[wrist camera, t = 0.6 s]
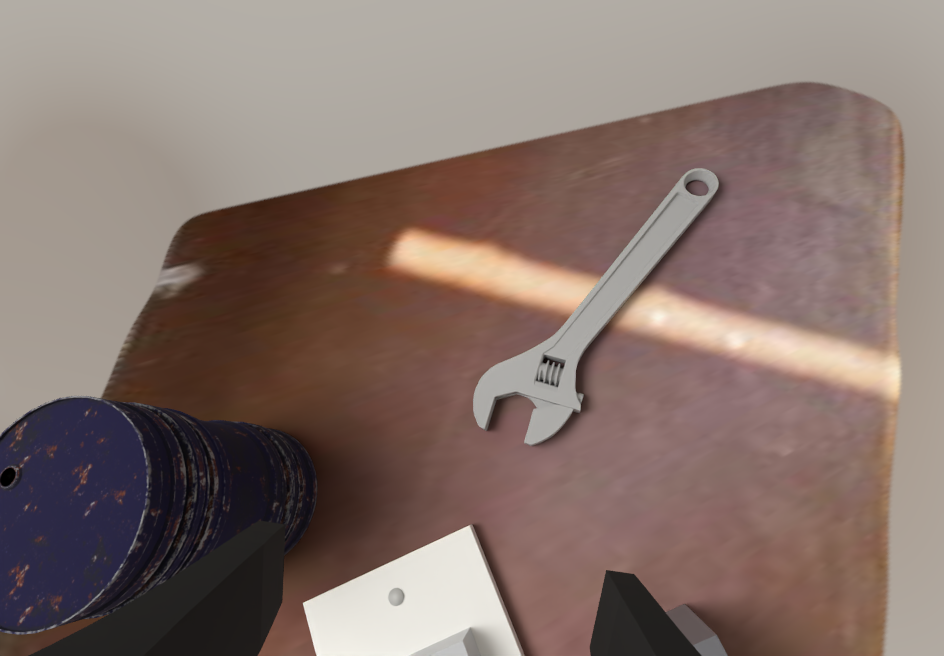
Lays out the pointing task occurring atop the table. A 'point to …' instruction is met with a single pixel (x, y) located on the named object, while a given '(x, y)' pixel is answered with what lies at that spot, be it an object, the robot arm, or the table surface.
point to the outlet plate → (418, 607)
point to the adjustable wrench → (588, 320)
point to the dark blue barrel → (130, 502)
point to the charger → (696, 631)
